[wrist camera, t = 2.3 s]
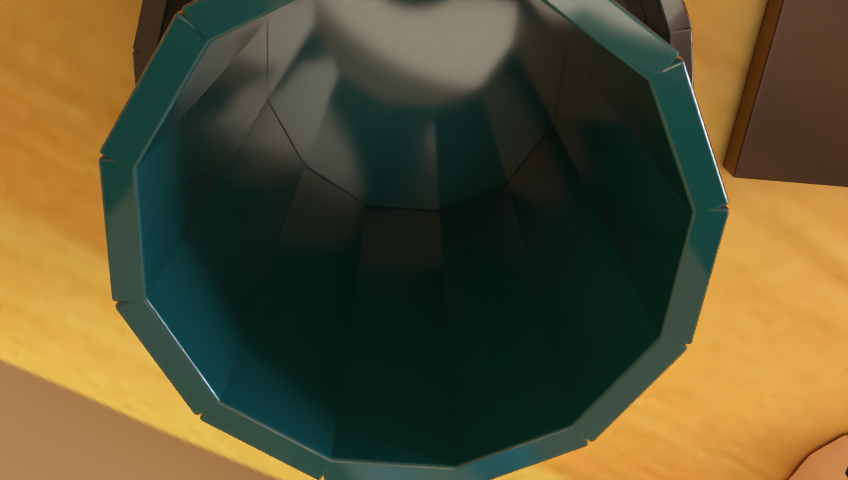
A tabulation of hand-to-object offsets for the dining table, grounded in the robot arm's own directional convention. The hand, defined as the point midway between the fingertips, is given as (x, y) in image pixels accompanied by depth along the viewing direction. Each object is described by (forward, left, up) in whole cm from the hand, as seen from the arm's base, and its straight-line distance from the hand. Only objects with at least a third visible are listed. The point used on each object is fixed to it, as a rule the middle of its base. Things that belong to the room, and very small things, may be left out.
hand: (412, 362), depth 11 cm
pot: (0, 0, -15) cm, 15 cm away
